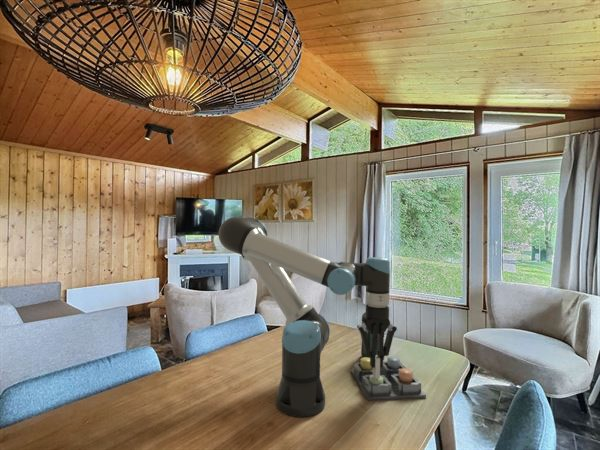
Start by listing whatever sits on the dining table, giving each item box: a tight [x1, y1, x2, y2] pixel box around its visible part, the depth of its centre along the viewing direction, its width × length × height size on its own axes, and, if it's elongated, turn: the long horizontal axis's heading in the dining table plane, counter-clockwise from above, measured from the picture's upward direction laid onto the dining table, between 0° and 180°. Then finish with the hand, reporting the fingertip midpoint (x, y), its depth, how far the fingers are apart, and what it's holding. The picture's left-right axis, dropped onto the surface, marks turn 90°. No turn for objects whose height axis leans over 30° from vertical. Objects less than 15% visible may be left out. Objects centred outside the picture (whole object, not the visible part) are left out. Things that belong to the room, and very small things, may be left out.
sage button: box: [370, 375, 383, 384], centre depth 104 cm, size 4×4×3 cm
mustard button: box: [360, 357, 373, 370], centre depth 114 cm, size 4×4×3 cm
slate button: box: [386, 356, 401, 369], centre depth 116 cm, size 4×4×3 cm
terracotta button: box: [399, 368, 414, 383], centre depth 106 cm, size 4×4×3 cm
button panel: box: [350, 361, 427, 401], centre depth 110 cm, size 19×20×4 cm
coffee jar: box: [360, 311, 385, 361], centre depth 131 cm, size 10×8×19 cm
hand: (376, 376), depth 105 cm, fingers closed
